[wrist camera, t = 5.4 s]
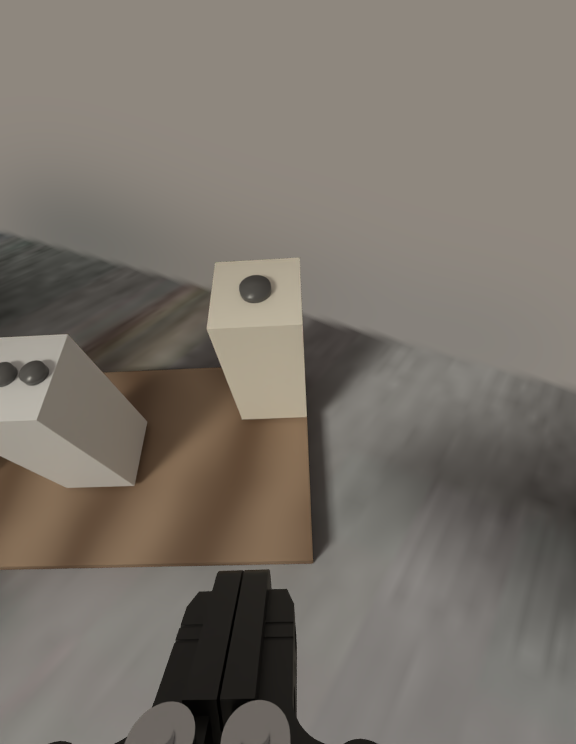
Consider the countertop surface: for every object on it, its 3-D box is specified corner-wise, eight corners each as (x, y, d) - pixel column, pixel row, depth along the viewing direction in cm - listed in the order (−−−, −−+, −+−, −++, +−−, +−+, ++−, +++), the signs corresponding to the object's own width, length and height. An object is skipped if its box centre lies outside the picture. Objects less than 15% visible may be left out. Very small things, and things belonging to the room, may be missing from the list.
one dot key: (242, 419, 24) (205, 324, 16) (245, 365, 26) (213, 257, 18) (306, 416, 23) (302, 319, 15) (304, 362, 25) (299, 252, 18)
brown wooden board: (-106, 571, 22) (-132, 569, 21) (-20, 389, 28) (-36, 378, 27) (313, 563, 21) (313, 560, 19) (305, 375, 27) (304, 363, 26)
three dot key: (66, 487, 22) (-74, 420, 14) (85, 424, 24) (-28, 334, 16) (134, 485, 22) (31, 416, 14) (147, 421, 24) (64, 329, 16)
